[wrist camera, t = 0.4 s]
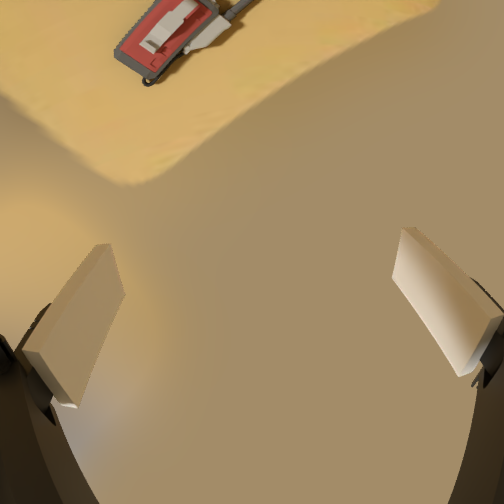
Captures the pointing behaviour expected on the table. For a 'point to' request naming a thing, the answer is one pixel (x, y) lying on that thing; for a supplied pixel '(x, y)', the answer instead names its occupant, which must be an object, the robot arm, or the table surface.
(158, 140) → the table surface
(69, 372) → the robot arm
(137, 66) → the walkie-talkie
